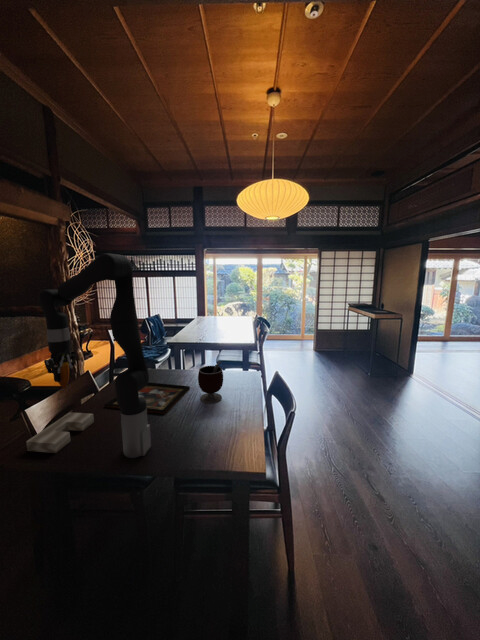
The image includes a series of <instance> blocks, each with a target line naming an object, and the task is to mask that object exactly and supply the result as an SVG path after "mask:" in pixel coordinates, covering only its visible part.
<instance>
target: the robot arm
mask: <svg viewBox="0 0 480 640" xmlns="http://www.w3.org/2000/svg"><path fill="white" fill-rule="evenodd" d="M103 281H114V285H115V287H114V288H115V297H114V298H115V299H114V303H113V305H112V308H111V310H110V315H109V323H110V327H111V328H110V329H111V334H112V337H113V339H114V341H115V342H116V343H117V344H118V346H119V348H121V350H122V351H123V352H124V355H125V358H126V361H127V369H126V370H124V371H122V372H119V374H117V376H116V378H115V381H114V383H115V385H114V386H115V397H117V403H118V406H119V407H120V409H119V410H120V421H121V423H120V424H121V437H122V450H123V455H124V457H126V458H129V459H130V458H131V459H135V458H139V457H144V456H145V455H146V454H147V453H148V451H149V450H150V449H151V447H152V441H151V438H152V437H151V425H150V423H149V424H148V412H147V405H146V400H145V399H143V398H139V395H138V391H140V390H141V389H143V388H144V387H145V386H146V385H147V384H148V382H149V380H150V374H149V370H148V366H147V362H146V359H145V355H144V352H143V351H144V350H143V344H142V340H141V334H140V325H139V321H138V320H139V319H138V315H137V309H136V299H135V293H134V274H133V266H132V263H131V261H130V259H129V258H128V257H127V256H126V255H123V254H115V253H109V252H108V253H107V252H106V253H102V254H100V255H98V256H97V257H96V258H94V259H93V260H92V261H91V262H90V263H89V264H88V265H87V266H85V268H83V269H82V270H80V272H79V273H77V274H75V275H74V276H72V277H70V278H69V279H66V280H65V281H63V282H62V283H60V284H59V285H58V287H57V288H56V289H43V290H41V291H40V292H39V293H38V295H37V302H38V305H39V307H40V309H41V311H42V313H43V315H44V317H45V323H46V338H47V347H48V352H49V353H50V358H48V359H44V361H43V363H44V365H45V366H44V367H46V370H47V373H48V374H52V375H53V381H54V382H55V383H58V382H61V374H60V369H61V367H62V364H63V363H64V362H68V363H69V378H70V377H72V367H73V366H75V365H76V359H77V358H76V356H77V352H76V351H75V350H71V349H72V342H71V341H72V340H71V333H70V329H69V321H68V320H69V318H68V315H67V314H66V313H65V312H58V311H57V309H56V308H59V307H60V308H62V307H66V306H69V305H70V304H71V303H73V301H75V299H77V298H79V297H81V296H83V295H84V294H86V293H87V292H88V291H90V289H91V288H92V286H93V285H95V284H97V283H100V282H103ZM62 354H65V355H64V356H62ZM64 359H65V360H64ZM56 364H59V365H56ZM56 367H57V370H56Z"/></svg>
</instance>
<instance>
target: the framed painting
mask: <svg viewBox="0 0 480 640" xmlns="http://www.w3.org/2000/svg"><path fill="white" fill-rule="evenodd" d="M189 390H190V386H189V385H181V384H168V383H160V382H159V383H158V382H149V381H148V384H147V385H146V386H145V387H144V388H143V389H141V390H140V391H138V395H139V398H143V399H145V400H146V405H147V413H150V414H157V415H166V414H167V413H168V412H169V411H170V410H171V409H172V408H173V407H174V406H175V405H177V403H178V402H179V401H180V400H181V398H182V397H184V396H185V395H186V394H187V393H188V392H189ZM103 406H104V408H108V409H109V408H111V409H119V410H120V407H119V406H118V403H117V396H115V397H114V398H112V399H111V400H109V401H108V402H106V403H104V404H103Z"/></svg>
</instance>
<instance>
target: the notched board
mask: <svg viewBox="0 0 480 640" xmlns="http://www.w3.org/2000/svg"><path fill="white" fill-rule="evenodd" d="M94 422H95V418H94V413H84V412H68V413H66V414H65V415H63V416H62V417H60V418H58V419H57V420H56V421H55V422H53V423H52V424H50V425H48V426H47V427H45V428H44V429H43V430H41V431H39V432H38V433H37V434H35V435H34V436H32V437H31V438H29V439H28V440H26V449H27V451H28V452H36V453H37V452H39V453H50V454H51V453H52V454H57V453H58V452H60V450H61V449H63V448H64V447H66V445H68V444H69V443H70V442H72V441H71V433H70V431H77V432H84V431H85V430H86V429H88V428H89V426H91V425H92V424H93V423H94Z"/></svg>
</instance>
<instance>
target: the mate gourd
mask: <svg viewBox="0 0 480 640" xmlns="http://www.w3.org/2000/svg"><path fill="white" fill-rule="evenodd" d="M221 363H222V360H219V361H218V362H216V364H214V365H206V366H201V367H200V368H199V369H198V375H197V382H198V387H199V389H200V390H201V391H202V392H203V394H202V395H201V396H199V400H200V402H201V403H203V404H206V405H207V404H208V405H209V404H210V405H213V404H217V403H219V402H221V401H222V399H223V396H222V395H221V394H220V393H218V392H219V391H221V389H222V387H223V384H224V372H223V368H222V367H220V364H221Z"/></svg>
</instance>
